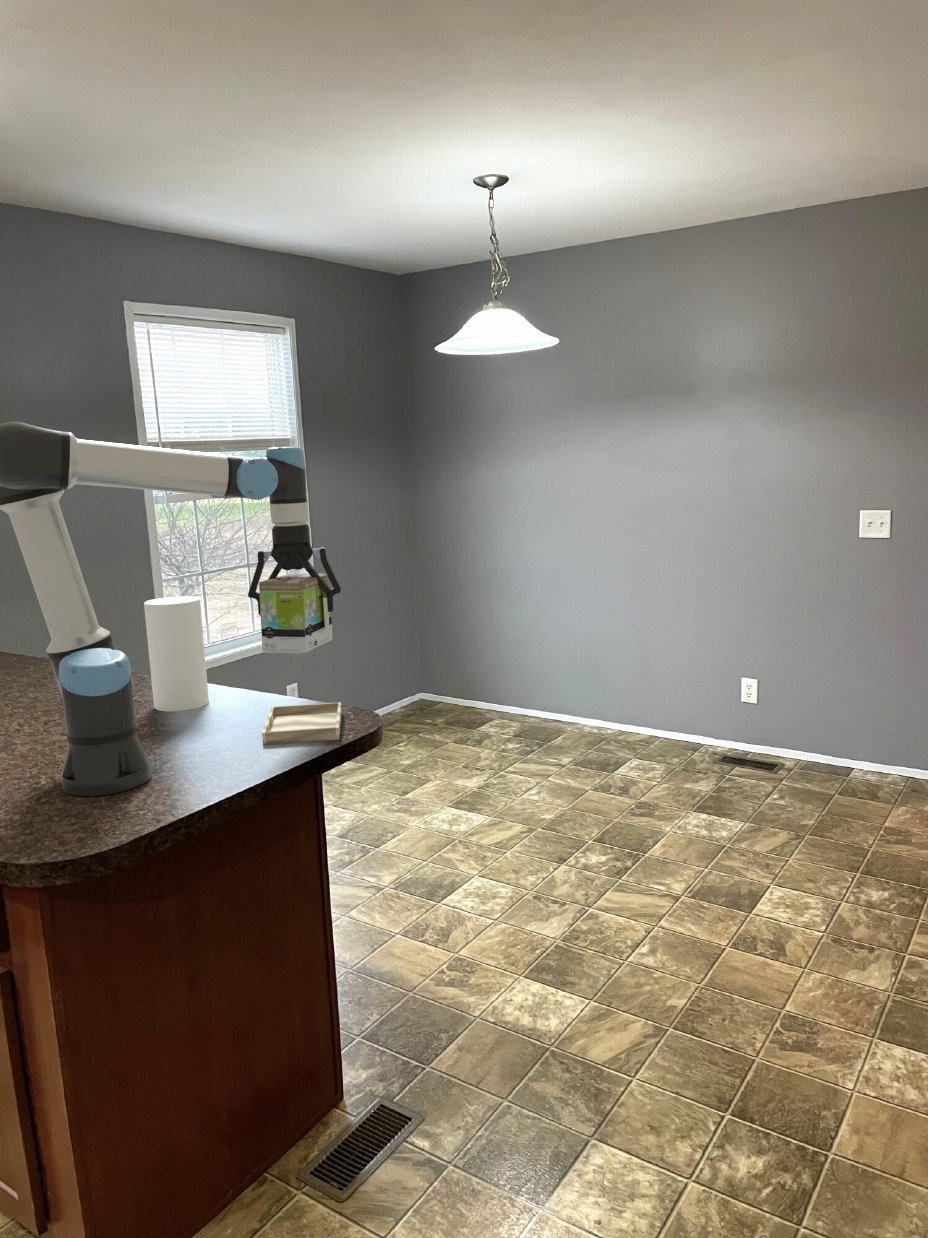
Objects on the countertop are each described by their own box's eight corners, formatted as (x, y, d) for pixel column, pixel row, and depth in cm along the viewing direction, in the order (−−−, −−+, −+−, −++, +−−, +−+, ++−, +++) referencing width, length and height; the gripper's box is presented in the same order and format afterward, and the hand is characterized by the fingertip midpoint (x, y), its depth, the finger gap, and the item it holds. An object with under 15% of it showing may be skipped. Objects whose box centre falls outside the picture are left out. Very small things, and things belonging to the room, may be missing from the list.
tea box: (308, 654, 186) (303, 581, 183) (261, 654, 188) (255, 581, 185) (334, 639, 200) (330, 571, 198) (290, 639, 202) (285, 572, 200)
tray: (339, 739, 188) (338, 727, 187) (262, 744, 186) (262, 732, 186) (341, 713, 208) (341, 702, 207) (272, 717, 206) (271, 706, 206)
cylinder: (215, 696, 227) (206, 595, 223) (199, 710, 215) (190, 603, 210) (164, 698, 227) (154, 597, 223) (146, 712, 215) (135, 605, 211)
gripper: (349, 520, 194) (355, 622, 198) (233, 525, 192) (241, 629, 196) (348, 522, 187) (355, 629, 191) (227, 528, 185) (236, 635, 188)
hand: (297, 629), depth 193 cm, fingers closed on tea box, 11 cm apart
